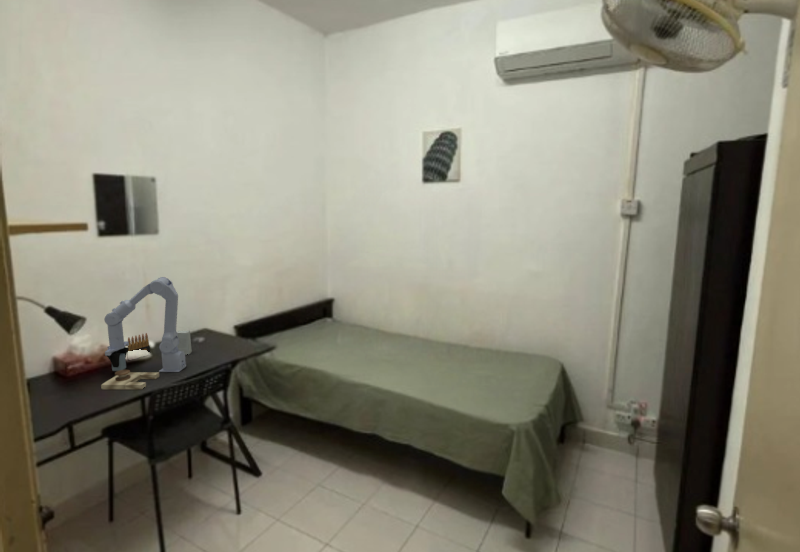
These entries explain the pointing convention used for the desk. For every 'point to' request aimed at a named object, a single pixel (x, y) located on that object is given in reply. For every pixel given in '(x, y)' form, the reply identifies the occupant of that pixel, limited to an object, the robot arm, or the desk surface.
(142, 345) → the ammunition clip
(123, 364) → the tab peg
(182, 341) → the skincare box
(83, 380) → the desk surface
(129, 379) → the notched board
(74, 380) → the desk surface
